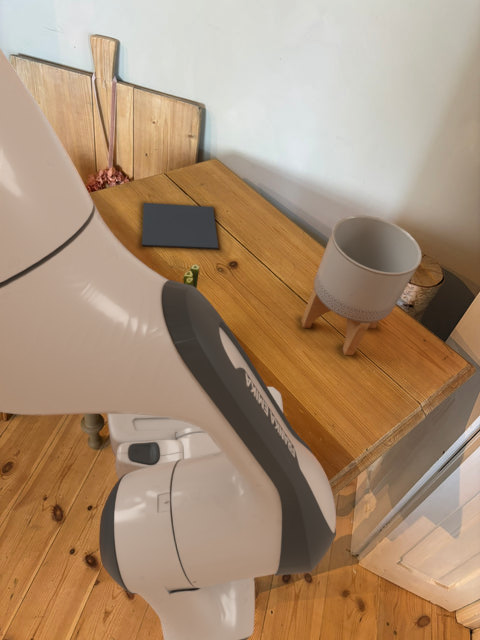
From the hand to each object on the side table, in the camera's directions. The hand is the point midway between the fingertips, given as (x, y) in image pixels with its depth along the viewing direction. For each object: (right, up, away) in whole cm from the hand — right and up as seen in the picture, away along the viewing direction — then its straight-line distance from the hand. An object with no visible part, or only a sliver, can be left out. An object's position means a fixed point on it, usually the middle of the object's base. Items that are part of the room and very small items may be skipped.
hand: (193, 363), depth 58 cm
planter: (+23, +5, +20) cm, 31 cm away
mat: (-6, +24, +32) cm, 40 cm away
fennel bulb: (-3, +3, +14) cm, 15 cm away
